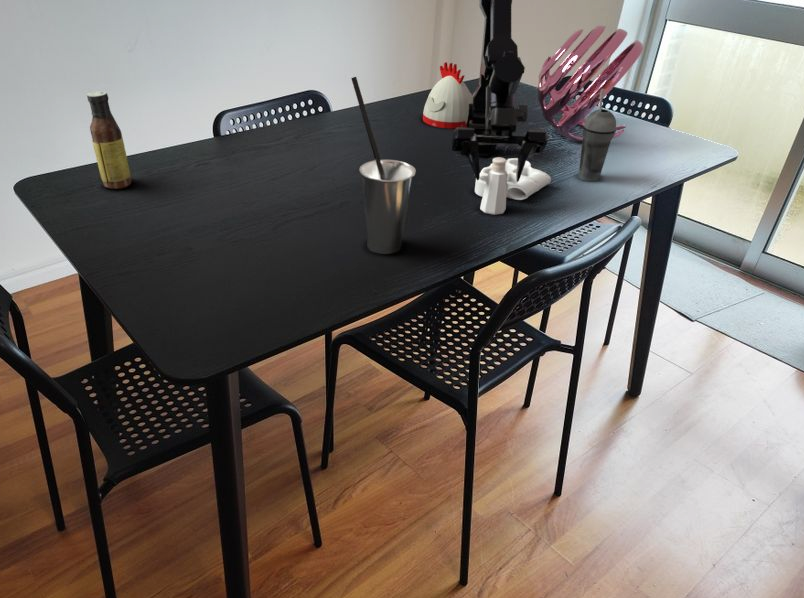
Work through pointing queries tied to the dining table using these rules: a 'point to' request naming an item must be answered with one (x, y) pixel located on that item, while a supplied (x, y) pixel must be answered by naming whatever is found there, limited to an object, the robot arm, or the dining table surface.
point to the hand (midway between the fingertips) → (497, 180)
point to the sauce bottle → (108, 143)
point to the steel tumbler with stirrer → (384, 194)
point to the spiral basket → (584, 78)
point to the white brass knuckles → (516, 190)
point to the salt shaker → (495, 188)
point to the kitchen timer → (447, 100)
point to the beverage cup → (596, 142)
